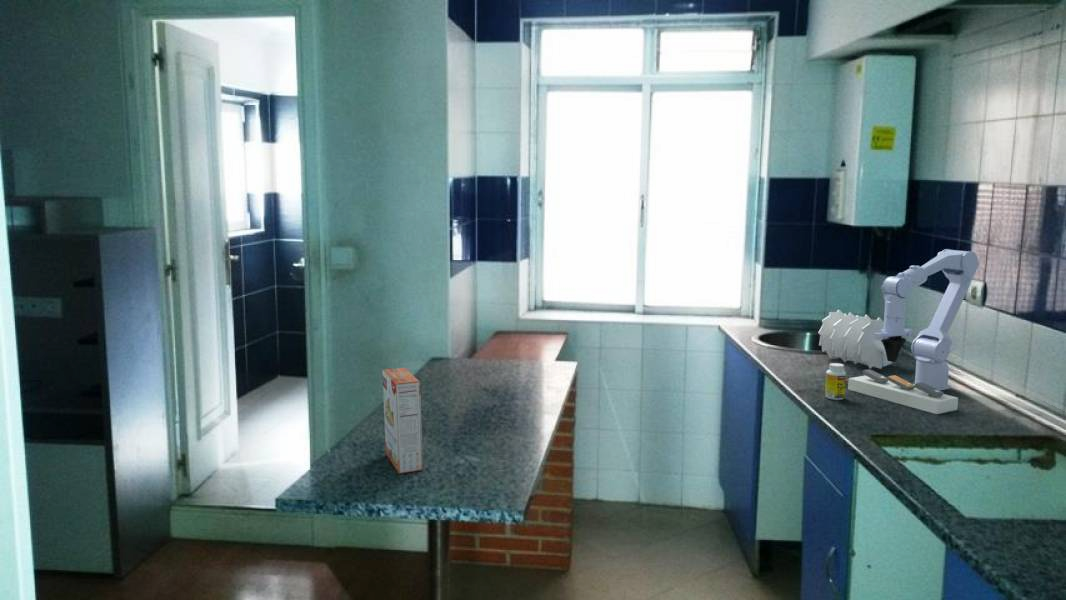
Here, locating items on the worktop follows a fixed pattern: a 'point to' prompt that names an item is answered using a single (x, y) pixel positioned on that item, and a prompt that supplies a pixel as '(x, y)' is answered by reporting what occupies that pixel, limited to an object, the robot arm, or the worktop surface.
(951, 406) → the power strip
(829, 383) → the supplement bottle
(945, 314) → the robot arm
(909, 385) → the orange flat bar
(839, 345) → the white ribbed cylinder
